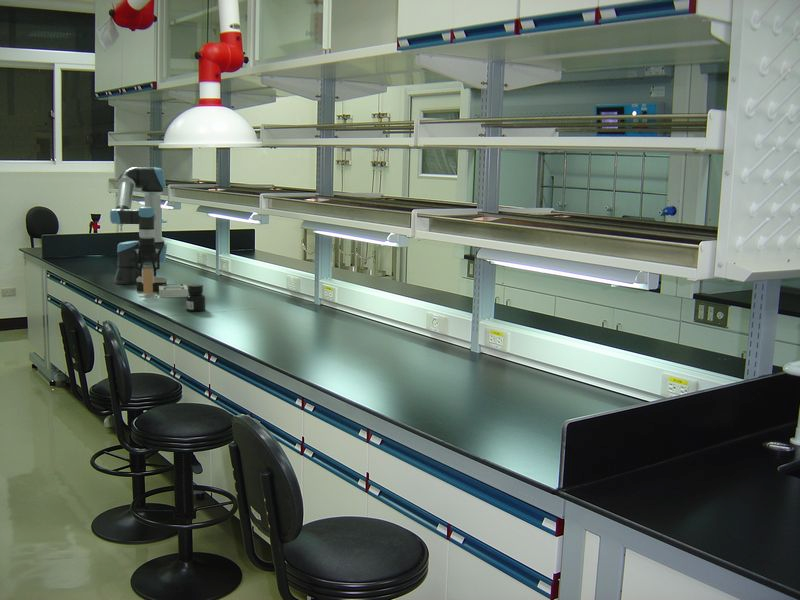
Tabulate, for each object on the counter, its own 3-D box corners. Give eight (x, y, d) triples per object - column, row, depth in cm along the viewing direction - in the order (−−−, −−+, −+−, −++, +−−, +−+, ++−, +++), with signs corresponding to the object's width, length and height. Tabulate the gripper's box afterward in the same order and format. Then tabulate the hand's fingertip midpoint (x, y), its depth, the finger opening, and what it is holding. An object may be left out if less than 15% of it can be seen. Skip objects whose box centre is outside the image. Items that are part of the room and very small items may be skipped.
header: (158, 293, 424) (158, 284, 423) (186, 292, 428) (186, 283, 427) (159, 297, 411) (159, 288, 410) (188, 296, 415) (187, 287, 414)
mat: (139, 294, 418) (138, 293, 418) (157, 293, 421) (157, 293, 421) (139, 297, 410) (139, 296, 410) (157, 296, 413) (157, 296, 413)
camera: (170, 291, 432) (170, 272, 431) (165, 293, 424) (165, 274, 422) (140, 290, 432) (140, 271, 431) (135, 292, 424) (135, 273, 422)
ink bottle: (184, 308, 382) (184, 284, 380) (203, 308, 385) (203, 283, 383) (187, 312, 373) (187, 287, 371) (206, 311, 376) (206, 286, 374)
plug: (143, 292, 417) (142, 265, 414) (152, 291, 418) (152, 265, 416) (143, 293, 412) (142, 266, 410) (152, 293, 414) (152, 266, 411)
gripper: (128, 238, 404) (130, 284, 408) (165, 238, 410) (165, 283, 414) (128, 236, 411) (130, 282, 415) (164, 236, 417) (165, 281, 421)
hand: (147, 282), depth 414 cm, fingers closed on plug, 4 cm apart
